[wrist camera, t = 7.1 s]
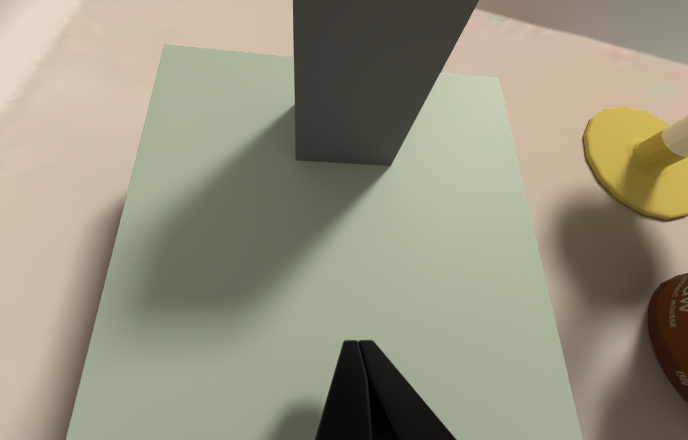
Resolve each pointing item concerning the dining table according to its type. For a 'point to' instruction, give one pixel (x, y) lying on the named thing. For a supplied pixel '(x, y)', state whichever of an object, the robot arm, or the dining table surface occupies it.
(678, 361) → the food container
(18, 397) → the dining table surface
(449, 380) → the lid
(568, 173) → the dining table surface
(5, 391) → the dining table surface
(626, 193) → the candle
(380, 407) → the robot arm
